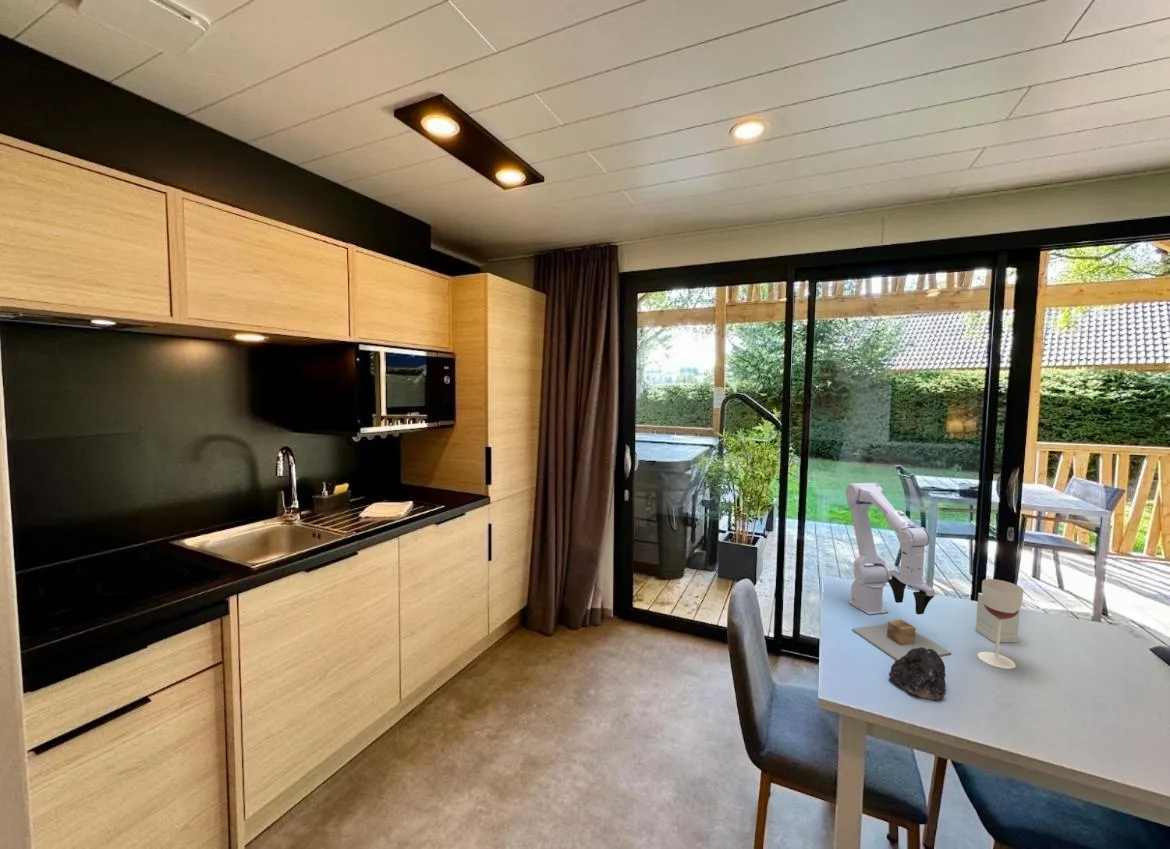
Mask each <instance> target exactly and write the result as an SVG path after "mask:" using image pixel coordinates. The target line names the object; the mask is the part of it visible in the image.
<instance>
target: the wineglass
mask: <svg viewBox="0 0 1170 849" xmlns="http://www.w3.org/2000/svg"><path fill="white" fill-rule="evenodd" d="M981 593H982V600H983V603H984V606H985V608H986V609H987V611H988V612H990V613H991V614H992V615H993V616H995V617H997V618H998V622H997V634H996V642H995V646H994V647H995V648H994V652H991V651H981V652H978V653H977V657H978V658H979V659H980V660H981V661H982V662H984V663H985V664H989V665H991V666H993V667H996V668H997V667H998V668H1000V669H1007V670H1010V669H1012V670H1013V669H1015V668H1016V663H1015V661H1013V660H1011V659H1010V658H1008V657H1006V656H1005V655H1002V654H1000V643H1001V642H1000V633H1001V621H1002V619H1009V618H1013V617H1015V616H1016V615H1017V614H1018V612H1019V610H1020V611H1021V607H1022V603H1023V597H1024V589H1023V588H1022V587H1020V586H1019V585H1017V584H1014V583H1012V582H1009V581H1006V580H1001V579H996V578H995V579H994V578H986V579H982V582H981ZM1019 613H1020V612H1019Z"/></svg>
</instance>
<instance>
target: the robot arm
mask: <svg viewBox="0 0 1170 849" xmlns="http://www.w3.org/2000/svg"><path fill="white" fill-rule="evenodd" d="M844 492H845V497H846V503H847V507H848V508H849V509H850V510H849V512H850V514H851V520H852V524H853V530H854V534H855V540H856V545H857V549H858V554H859V556H858V557H857V558H856V560H854V561H853V577H854V579H855V580H854V581H853V582H852V584H851V592H850V594H851V595H850V600H849V601H848V603H849V604H850V605H853V606H854V607H856V608H858V609H859V611H860V610H861V612H864V613H866V614H867V615H870V616H871V615H878V614H885V613H889V610H888V609H886V608H884V607H883V596H884V595H883V594H884V587H886V584H887V583H888V584H889V586H890V588H891V590H892V593H893V597H894V602H895V603H897V604H898V603H903V601H904V596H905V589H906V586H910V587H912V588H915V589H916V590H918V591H914V592H912V594H913V597H914V601H915V614H916V615H919V616H920V615H924V613H925V611H926V609H927V606H928V604H929V603H930V602H931V600H932V599H933V598H934V597H935V589H934V588H933V587H931V586H929V585H928V584H927V583H926V582H925V579H924V578H923V574H924V559H925V547H927V546H929V545H930V542H931V537H930V533H929V531H928V530H927V529H926V527H922V526H919V525H916V524H915V523H914V522H913V521H912V520H911V519H910V518H909V517H908V516H907V515H906V513H905V512H904V511H902V510H899V509H897V510H896V508H894V506H893V505H892V504H891V502H890V501H889V500H888V499H887V498H886V496H885V495H884V490H883V487H881V486H880V484H879V483H878V482H876V481H874V482H860V483H859V482H858V483H857V482H849V483H848V484H847V486H846V488H845V491H844ZM872 506H875V507H876V508H877V510H878V511H880V512H881V513H882V514H883V516H885V522H886V523H887V524H888V525H889V527H890V528H891V529H892V530H893V531H894V532H895V533H896V535H897V540H898V542H899V549H900V551H901V553H900V554H901V555H900V556H901V559H900V571H897V570H895V569H894V570H889V569H888V567H887V564H886V561H885V560H884V559H883V558H881V557H880V556H879V555H878V554H877V549H876V546H875V539H874V535H873V532H872V526H871V521H870V518H869V513H868V510H869V508H870V507H872Z"/></svg>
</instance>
